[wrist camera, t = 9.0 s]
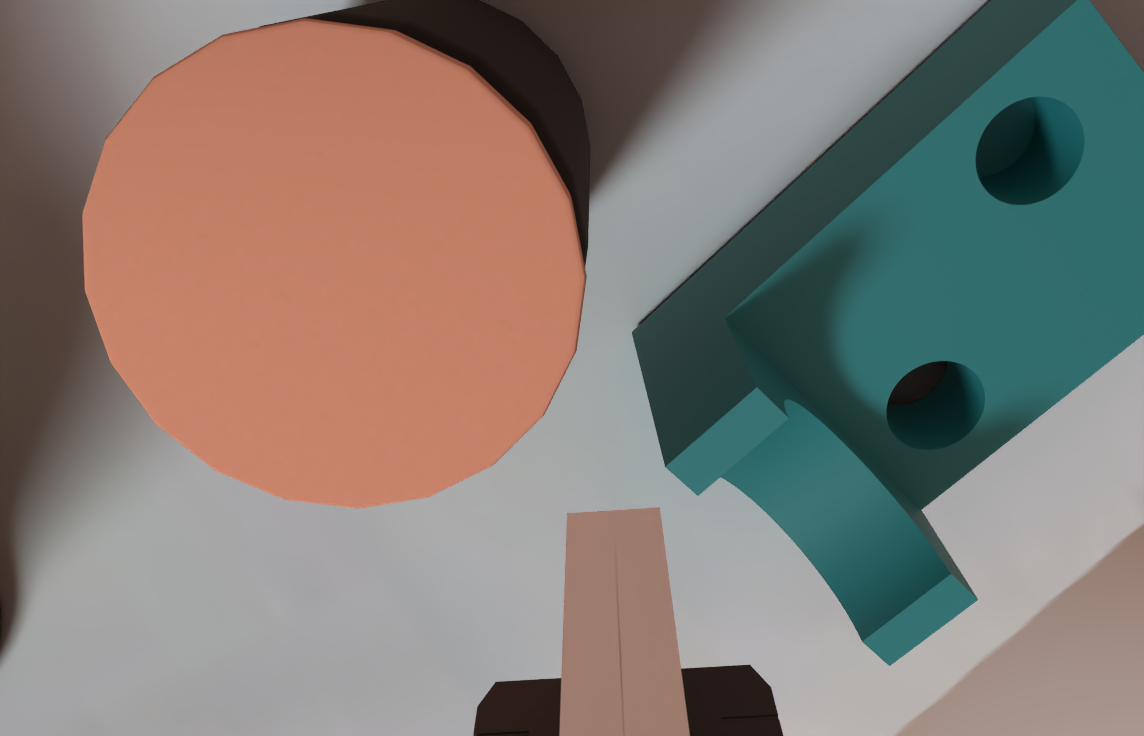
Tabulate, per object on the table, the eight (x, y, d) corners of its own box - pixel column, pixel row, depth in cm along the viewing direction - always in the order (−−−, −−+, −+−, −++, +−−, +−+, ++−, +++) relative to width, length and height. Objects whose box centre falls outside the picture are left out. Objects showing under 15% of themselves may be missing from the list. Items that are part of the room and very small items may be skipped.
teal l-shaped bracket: (811, 499, 45) (889, 665, 36) (631, 332, 42) (665, 466, 32) (1182, 195, 40) (1386, 294, 31) (1014, -22, 37) (1185, 14, 28)
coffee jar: (314, 290, 42) (125, 515, 25) (279, -4, 38) (28, 26, 21) (593, 283, 41) (593, 507, 25) (586, -14, 38) (579, 9, 21)
